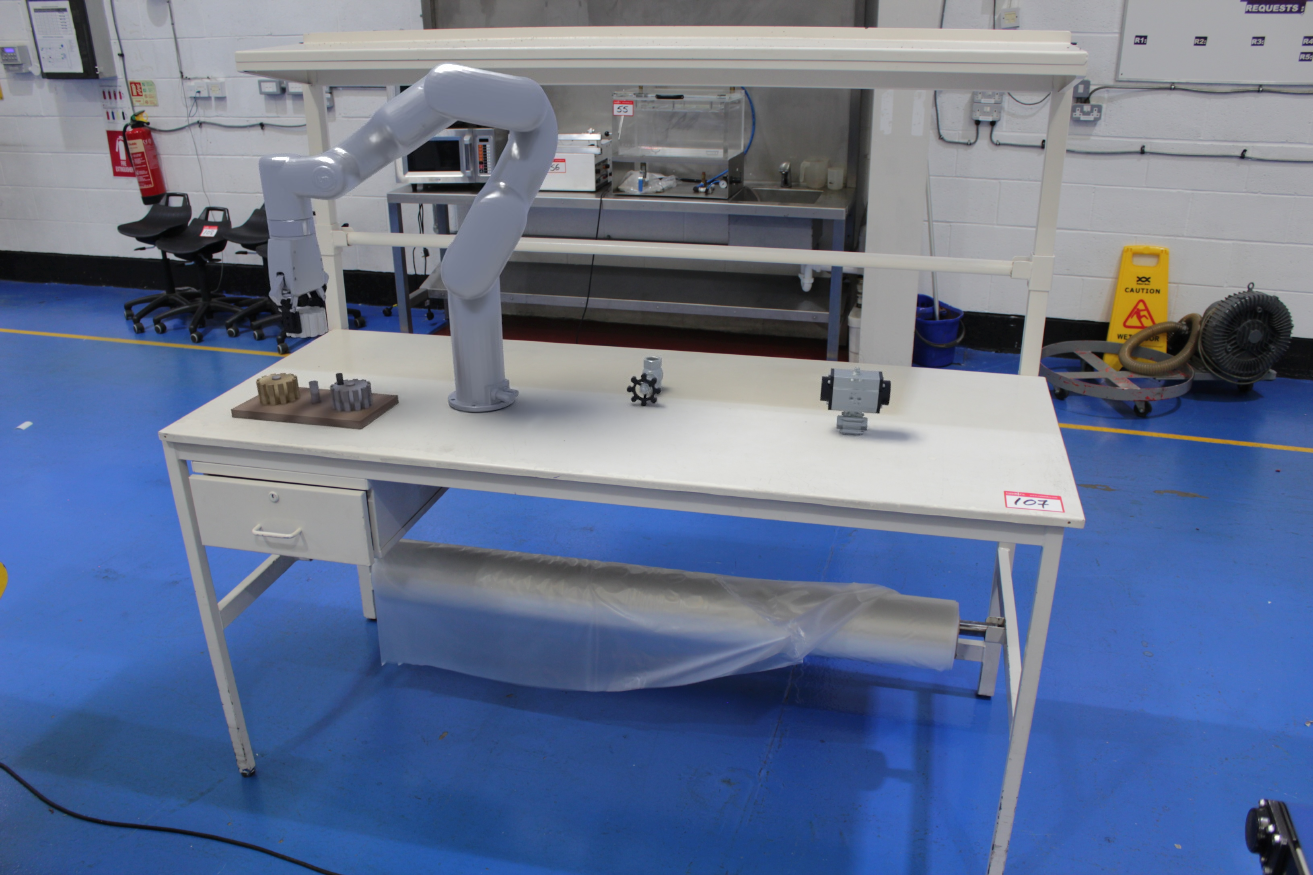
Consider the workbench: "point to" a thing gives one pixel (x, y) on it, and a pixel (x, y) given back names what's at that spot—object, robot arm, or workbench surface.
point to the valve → (648, 381)
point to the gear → (311, 322)
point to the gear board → (315, 410)
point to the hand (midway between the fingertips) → (306, 326)
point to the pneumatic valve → (854, 396)
